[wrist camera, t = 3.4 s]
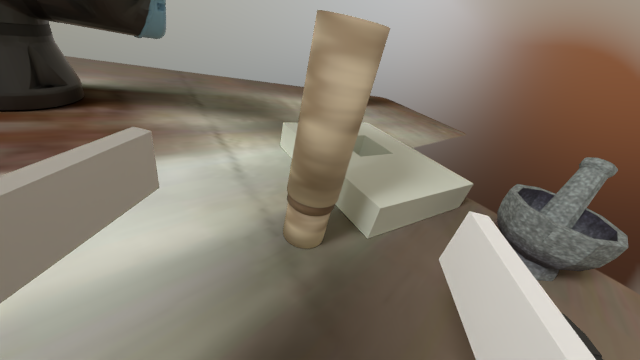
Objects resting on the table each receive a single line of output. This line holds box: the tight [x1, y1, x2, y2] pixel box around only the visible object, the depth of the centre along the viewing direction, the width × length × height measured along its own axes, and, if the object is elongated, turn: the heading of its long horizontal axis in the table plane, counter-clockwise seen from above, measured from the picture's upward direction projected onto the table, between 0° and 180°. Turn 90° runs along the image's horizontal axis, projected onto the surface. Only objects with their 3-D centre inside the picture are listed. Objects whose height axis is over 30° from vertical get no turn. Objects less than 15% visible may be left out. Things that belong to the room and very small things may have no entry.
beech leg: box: [283, 10, 390, 249], centre depth 20 cm, size 5×5×18 cm
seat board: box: [280, 122, 473, 239], centre depth 37 cm, size 22×18×4 cm
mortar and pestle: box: [498, 158, 628, 281], centre depth 26 cm, size 11×9×12 cm
